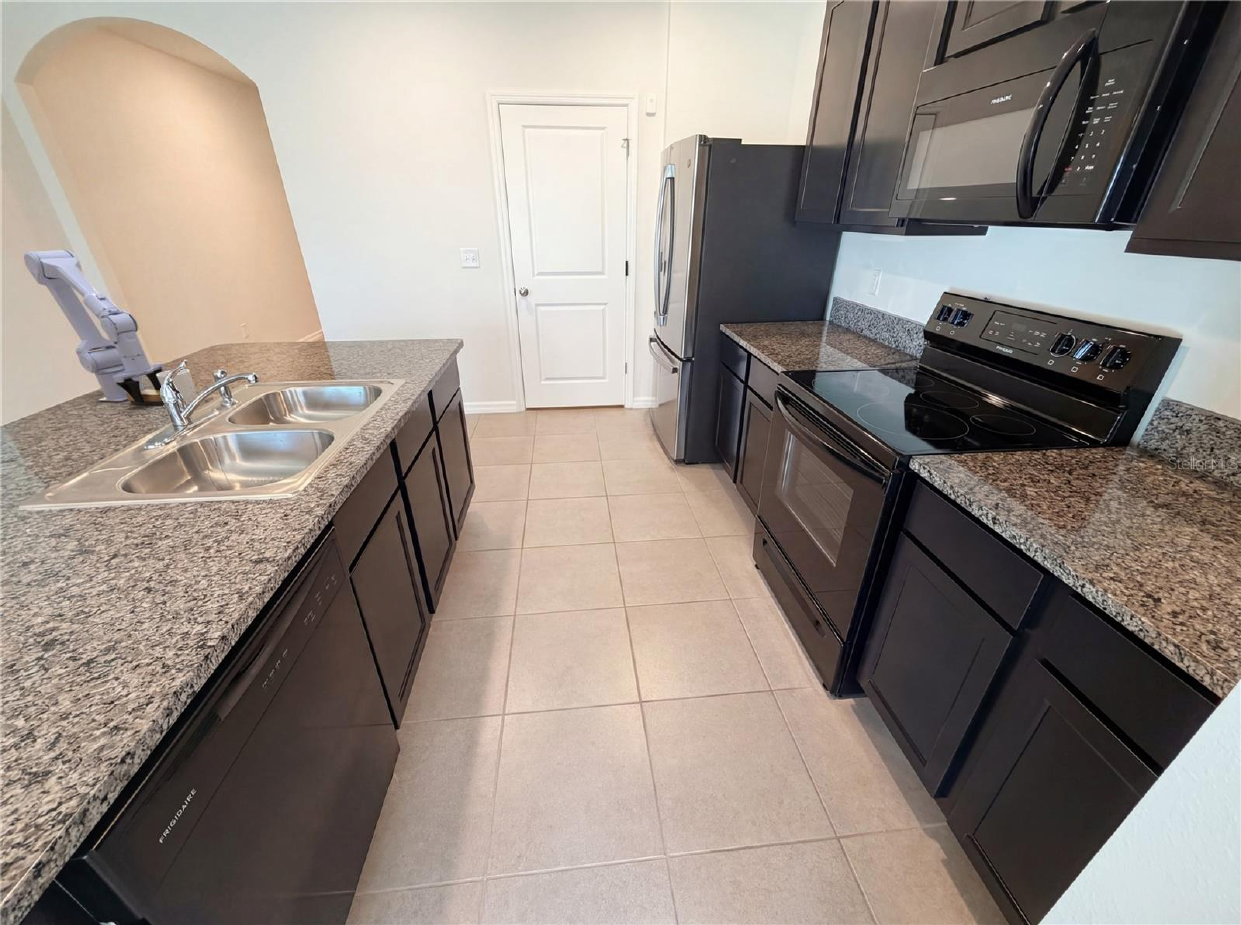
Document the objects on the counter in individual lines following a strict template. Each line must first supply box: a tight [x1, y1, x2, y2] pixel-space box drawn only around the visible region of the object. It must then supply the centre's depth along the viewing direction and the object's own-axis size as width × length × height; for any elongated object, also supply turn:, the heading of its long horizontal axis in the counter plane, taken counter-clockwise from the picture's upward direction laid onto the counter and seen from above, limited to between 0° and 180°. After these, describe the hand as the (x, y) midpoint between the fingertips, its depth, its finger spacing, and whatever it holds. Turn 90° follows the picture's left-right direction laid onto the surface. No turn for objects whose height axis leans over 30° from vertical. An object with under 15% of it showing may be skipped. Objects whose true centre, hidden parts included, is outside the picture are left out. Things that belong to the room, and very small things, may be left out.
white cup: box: [156, 368, 198, 403], centre depth 155 cm, size 8×8×10 cm
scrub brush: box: [126, 388, 165, 406], centre depth 157 cm, size 11×4×4 cm, turn 85°
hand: (151, 398), depth 157 cm, fingers open, 7 cm apart
